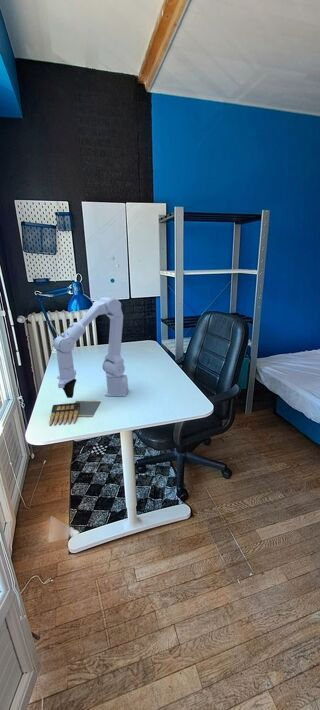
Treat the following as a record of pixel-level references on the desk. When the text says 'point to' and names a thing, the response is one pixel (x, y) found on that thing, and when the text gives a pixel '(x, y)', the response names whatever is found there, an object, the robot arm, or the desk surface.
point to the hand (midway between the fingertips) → (70, 397)
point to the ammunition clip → (64, 413)
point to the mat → (87, 408)
